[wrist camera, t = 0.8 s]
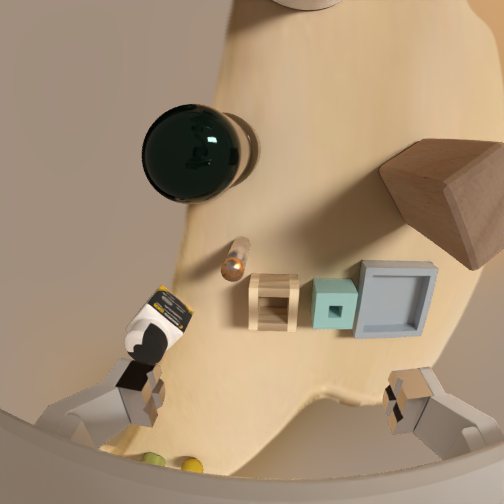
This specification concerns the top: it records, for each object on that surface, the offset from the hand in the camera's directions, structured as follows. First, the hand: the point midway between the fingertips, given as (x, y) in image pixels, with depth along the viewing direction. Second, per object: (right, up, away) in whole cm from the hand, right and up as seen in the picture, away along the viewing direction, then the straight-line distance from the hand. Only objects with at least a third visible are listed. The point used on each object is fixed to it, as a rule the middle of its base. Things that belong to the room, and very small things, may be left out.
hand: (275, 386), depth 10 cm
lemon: (-15, -49, +57) cm, 77 cm away
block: (+24, +15, +31) cm, 42 cm away
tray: (+22, -3, +38) cm, 44 cm away
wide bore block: (+3, -2, +39) cm, 39 cm away
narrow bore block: (+12, -2, +38) cm, 40 cm away
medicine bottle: (-15, -5, +42) cm, 45 cm away
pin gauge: (-2, +6, +37) cm, 37 cm away
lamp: (-4, +19, +33) cm, 38 cm away
